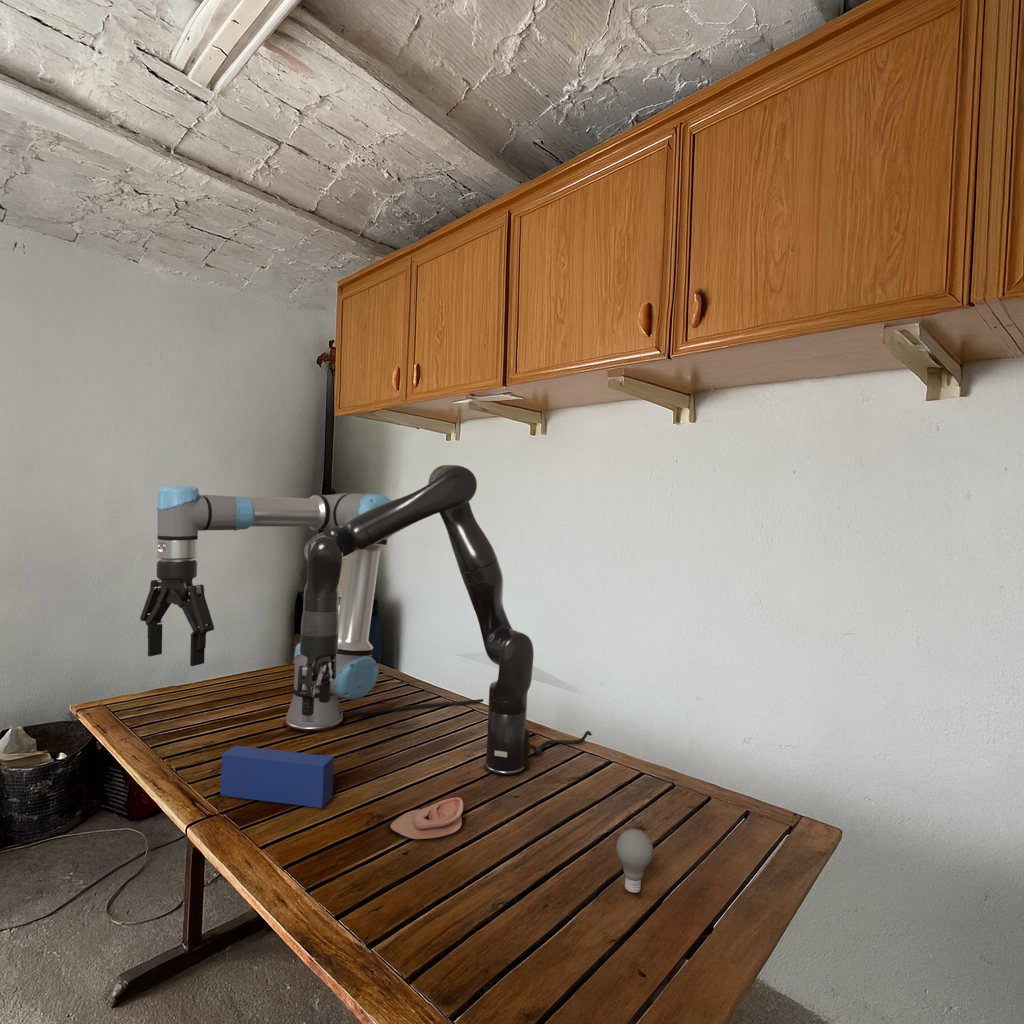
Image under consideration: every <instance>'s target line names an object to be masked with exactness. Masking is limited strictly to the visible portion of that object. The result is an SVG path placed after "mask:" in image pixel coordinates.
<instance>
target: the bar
mask: <svg viewBox="0 0 1024 1024" xmlns="http://www.w3.org/2000/svg"><path fill="white" fill-rule="evenodd" d="M334 760H335V756H333V755H324V754H323V755H322V754H316V753H315V754H314V753H304V752H297V751H289V750H288V751H287V750H278V749H271V748H270V749H269V748H261V747H252V746H251V747H250V746H242V745H234V746H233V747H231V748H230V749H228V750H226V751H224V752H223V753H222V754H221V762H220V763H221V766H220V792H219V793H220V795H219V796H221V797H230V798H237V799H239V798H240V799H246V800H255V801H261V802H270V803H278V804H286V805H292V806H293V805H294V806H302V807H309V808H319V809H323V808H324V807H325V806H326V805H327V803H329V801H330V800H331V799H332V798H333V790H334V788H333V787H334V762H335V761H334Z"/></svg>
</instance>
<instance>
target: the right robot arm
mask: <svg viewBox="0 0 1024 1024" xmlns="http://www.w3.org/2000/svg"><path fill="white" fill-rule="evenodd" d="M477 489H478V481H477V478H476V475H475V474H474V473H473V472H472V471H471V469H469V468H467V467H465V466H462V465H457V464H443V465H439V466H436V467H435V468H434V469H433V470H432V471H431V472H430V474H429V478H428V484H426V485H424V486H423V487H421V488H420V489H418V490H416V491H413V492H411V493H409V494H407V495H404V496H402V497H399V498H396V499H394V500H391V501H390V502H387V503H385V504H382V505H379V506H377V507H375V508H373V509H370V510H368V511H366V512H364V513H362V514H360V515H359V516H357V517H355V518H353V519H351V520H350V521H348V522H346V523H344V524H342V525H339V526H336V527H334V528H331V529H329V530H326V531H325V530H323V531H322V532H320V533H317V534H315V535H314V536H312V537H311V538H310V539H309V540H307V542H306V544H305V546H304V557H305V559H306V561H307V570H306V571H307V572H306V573H307V574H306V583H305V585H304V591H303V604H302V605H303V606H302V607H303V608H302V615H301V619H300V620H301V621H300V622H301V623H300V641H299V643H300V653H301V654H302V655H304V656H306V657H307V663H306V666H299V671H298V685H297V696H301V697H302V715H305V716H311V715H313V713H314V695H315V692H316V688H317V687H319V686H320V687H319V702H322V703H328V702H329V701H330V689H331V685H330V684H332V682H333V679H335V678H336V653H337V651H338V632H339V615H338V614H339V606H340V581H341V576H342V570H343V562H344V561H343V559H344V558H345V557H346V556H347V555H348V554H350V553H352V552H354V551H357V550H363V549H366V548H368V547H370V546H372V545H374V544H376V543H378V542H380V541H382V540H384V539H386V538H387V537H389V536H390V537H392V536H393V535H395V534H396V533H399V532H400V531H403V530H404V529H406V528H408V527H410V526H412V525H414V524H416V523H418V522H421V521H423V520H425V519H427V518H429V517H432V516H434V515H436V514H439V516H440V517H441V520H442V522H443V525H444V526H445V530H446V532H447V535H448V539H449V542H450V545H451V548H452V552H453V554H454V557H455V561H456V563H457V567H458V570H459V572H460V575H461V578H462V581H463V584H464V586H465V589H466V591H467V594H468V598H469V600H470V602H471V605H472V607H473V611H474V613H475V615H476V618H477V621H478V622H477V623H478V625H479V629H480V633H481V639H482V642H483V646H484V650H485V652H486V655H487V657H488V659H489V660H490V661H491V662H492V663H494V664H495V665H497V666H498V675H497V680H495V681H492V682H491V683H490V684H489V689H488V709H487V711H488V713H487V731H486V735H487V736H486V757H485V769H486V770H487V771H488V772H490V773H492V774H496V775H500V776H513V775H516V774H517V775H518V774H520V773H522V772H523V771H525V770H528V765H529V755H530V754H531V753H530V752H531V749H532V750H533V753H534V754H535V755H537V756H539V755H540V754H541V753H542V752H543V749H544V748H545V747H546V746H548V745H552V744H563V745H564V744H565V745H575V744H581V743H582V742H584V741H585V740H586V738H587V737H588V736H593V734H592V732H591V731H590V730H586V731H585V732H584V733H583V736H582V737H581V738H578V739H572V740H571V739H570V740H568V739H550V740H546V741H544V742H543V743H541V745H540V746H539V748H538V749H537V747H536V746H535V745H534V744H531V743H530V729H529V728H527V712H528V711H527V710H528V692H529V690H530V687H531V685H532V680H533V679H532V678H533V670H534V669H533V668H534V658H535V657H534V656H535V655H534V653H535V651H534V644H533V641H532V639H531V638H530V636H528V635H527V634H526V633H524V632H522V631H518V630H516V629H513V627H512V625H511V623H510V621H509V618H508V617H507V613H506V611H505V608H504V602H503V595H504V576H503V571H502V568H501V566H500V563H499V560H498V556H497V554H496V552H495V549H494V547H493V545H492V544H491V542H490V540H489V539H488V537H487V535H486V533H485V532H484V531H483V529H482V528H481V526H480V525H479V523H478V522H477V519H476V518H475V515H474V513H473V510H472V506H471V503H470V501H471V500H472V499H473V498H474V497H475V495H476V492H477ZM391 535H392V536H391ZM390 537H389V538H390ZM387 539H388V538H387ZM320 683H321V684H320ZM302 684H303V688H302ZM311 687H312V689H311Z"/></svg>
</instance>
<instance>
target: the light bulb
mask: <svg viewBox="0 0 1024 1024" xmlns="http://www.w3.org/2000/svg"><path fill="white" fill-rule="evenodd" d="M615 849H616V854H617V857H618V859H619V861H620V863H621V865H622V867H623V873H624V874H623V875H624V876H625V878H624V888H625V890H627V891H628V892H630V893H634V894H635V893H639V892H640V891H641V889H642V887H641V886H642V879H643V877H644V875H645V871H646V868H647V867H648V866H649V864H650V863H651V861H652V859H653V855H654V847H653V843H652V841H651V838H649V836H648V835H647V834H646V833H645V832H643V831H642V830H641V829H636V828H629V829H627V830H625V831H623V832H622V833H621V834H620V835H619V837H618V839H617V841H616V847H615Z"/></svg>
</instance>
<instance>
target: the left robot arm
mask: <svg viewBox="0 0 1024 1024" xmlns="http://www.w3.org/2000/svg"><path fill="white" fill-rule="evenodd" d="M390 501H392V499H390V498H389V497H387V496H385V495H383V494H377V493H371V492H369V493H359V492H357V493H356V492H342V493H334V494H314V495H311V496H309V498H308V497H307V498H303V497H302V498H301V497H278V496H276V497H273V496H248V495H247V496H246V495H245V496H244V495H216V494H200V493H199V489H198V487H196V486H178V485H176V486H175V485H163V486H162V487H161V488H159V490H158V495H157V506H156V510H157V546H156V548H157V550H156V558H157V559H160V560H157V562H156V578H157V579H152V580H150V584H149V592H148V594H147V596H146V600H145V602H144V606H143V609H142V611H141V614H140V617H139V619H140V621H141V622H144V623H145V625H146V626H147V657H154V656H160V655H163V624H162V623H163V621H162V619H163V617H164V616H165V615H166V613H167V611H168V610H169V608H170V606H171V605H172V604H173V605H176V606H178V608H180V609H181V610H182V612H183V614H184V616H185V618H186V620H187V622H188V624H189V625H190V628H191V630H192V632H191V633H190V648H189V649H190V651H189V652H190V653H189V654H190V655H189V659H190V660H189V665H190V667H196V666H199V665H203V664H205V650H206V646H207V644H206V642H207V634H208V632H211V631H214V630H215V626H214V623H213V622H214V621H213V618H212V615H211V612H210V609H209V605H208V602H207V599H206V596H205V585H204V584H193V580H194V579H195V578H196V577H197V576H198V561H197V560H196V558H197V557H198V556H199V555H198V551H199V548H198V547H199V546H198V545H199V543H198V542H199V541H198V538H199V531H201V532H203V531H204V532H205V531H240V530H241V531H242V530H247V529H250V528H251V527H308V528H309V529H310V530H312V531H326V530H329V529H331V528H334V527H336V526H339V525H342V524H344V523H346V522H348V521H350V520H351V519H353V518H355V517H357V516H359V515H360V514H362V513H364V512H366V511H368V510H370V509H373V508H375V507H377V506H379V505H382V504H385V503H387V502H390ZM392 536H393V535H391V536H389V537H387V538H386V539H384V540H382V541H380V542H378V543H376V544H374V545H372V546H370V547H368V548H366V549H363V550H357V551H354V552H352V553H350V554H348V555H347V556H345V557H346V558H345V563H344V564H345V565H344V570H343V571H344V572H343V577H342V579H343V580H342V585H341V593H340V599H339V606H338V615H339V632H338V651H337V653H336V678H335V679H333V682H332V684H330V685H331V689H330V701H329V702H328V703H322V702H319V687H320V686H319V687H317V688H316V692H315V695H314V713H313V715H311V716H305V715H302V697H301V696H297V685H298V671H299V666H306V663H307V657H306V656H304V655H302V654H301V653H300V642H299V643H297V644H296V646H295V650H294V655H293V657H294V672H293V673H294V674H293V695H292V696H293V697H292V699H291V702H290V704H289V708H288V711H287V713H286V715H285V726H286V728H287V729H289V730H291V731H294V732H295V731H296V732H301V733H316V732H325V731H329V730H332V729H335V728H337V727H339V726H340V725H342V723H343V722H344V716H373V715H380V714H384V713H389V712H394V711H401V710H409V709H419V708H429V707H444V706H457V705H458V706H459V705H468V704H469V705H470V704H477V703H483V702H484V699H483V698H478V699H471V700H460V701H448V702H447V701H446V702H433V703H421V704H420V703H419V704H411V705H402V706H397V707H391V708H386V709H381V710H380V709H379V710H373V711H343V709H342V706H341V702H340V699H342V700H348V701H357V700H360V699H362V698H364V697H365V696H367V695H368V694H369V692H371V691H372V690H373V689H374V687H375V685H376V683H377V682H378V678H379V674H380V672H379V671H380V670H379V669H380V668H379V665H378V664H377V662H376V660H375V659H374V658H373V652H374V646H373V645H372V643H370V641H369V637H370V631H371V630H370V629H371V621H372V614H373V606H374V600H375V591H376V584H377V578H378V569H379V562H380V556H381V555H380V554H381V551H382V550H384V548H386V547H387V545H388V539H389V538H390V537H392ZM320 684H321V683H320ZM302 688H303V684H302ZM311 689H312V687H311Z"/></svg>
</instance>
